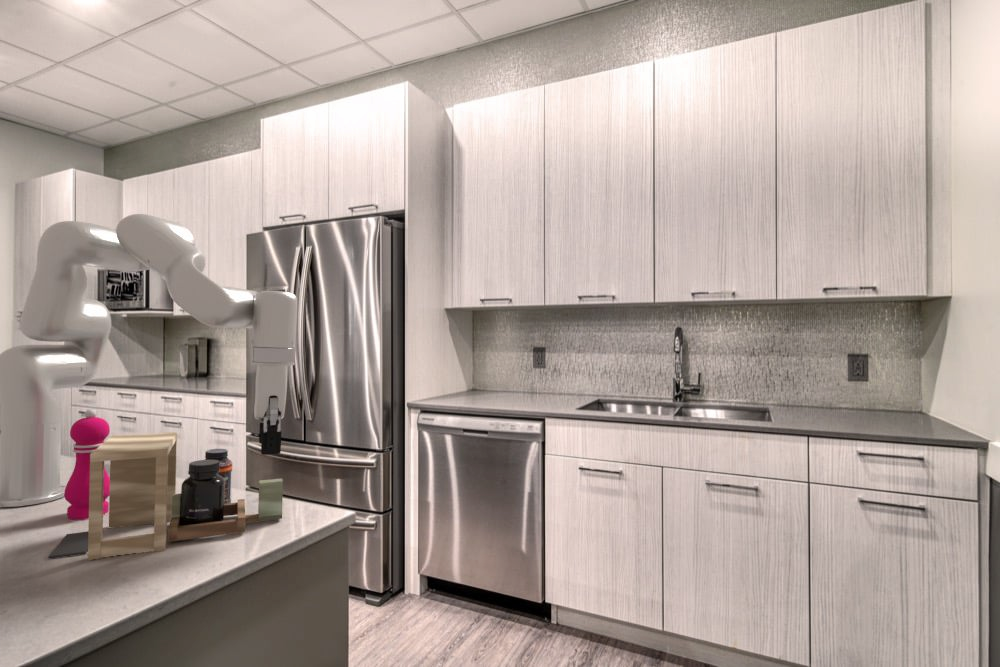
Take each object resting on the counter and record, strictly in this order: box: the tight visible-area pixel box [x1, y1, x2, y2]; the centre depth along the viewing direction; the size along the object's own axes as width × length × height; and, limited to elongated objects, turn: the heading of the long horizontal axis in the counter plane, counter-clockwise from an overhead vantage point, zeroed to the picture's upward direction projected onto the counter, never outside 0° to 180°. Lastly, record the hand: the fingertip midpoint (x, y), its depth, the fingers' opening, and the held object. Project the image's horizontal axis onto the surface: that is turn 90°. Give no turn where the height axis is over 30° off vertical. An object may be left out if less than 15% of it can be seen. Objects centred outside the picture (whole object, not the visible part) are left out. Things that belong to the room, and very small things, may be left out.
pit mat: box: [47, 531, 88, 559], centre depth 87 cm, size 10×5×1 cm, turn 26°
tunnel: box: [87, 431, 178, 561], centre depth 91 cm, size 16×10×16 cm, turn 26°
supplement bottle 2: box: [204, 448, 233, 504], centre depth 108 cm, size 6×6×11 cm
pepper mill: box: [63, 408, 111, 520], centre depth 102 cm, size 7×7×20 cm
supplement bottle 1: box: [180, 459, 225, 526], centre depth 95 cm, size 7×7×12 cm
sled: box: [167, 478, 284, 543], centre depth 97 cm, size 11×18×7 cm, turn 116°
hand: (269, 448), depth 100 cm, fingers open, 9 cm apart
